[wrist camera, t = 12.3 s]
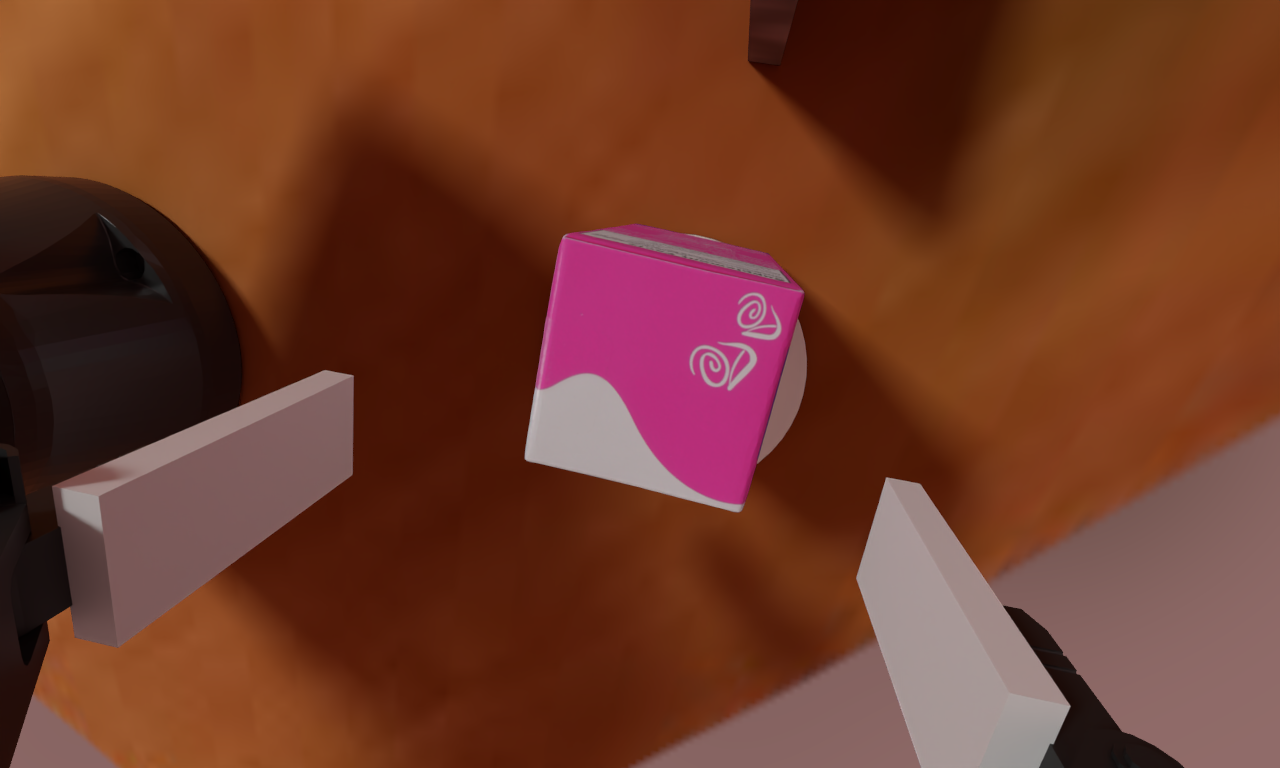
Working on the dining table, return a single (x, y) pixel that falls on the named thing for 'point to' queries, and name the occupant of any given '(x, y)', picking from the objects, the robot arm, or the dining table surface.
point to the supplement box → (661, 361)
